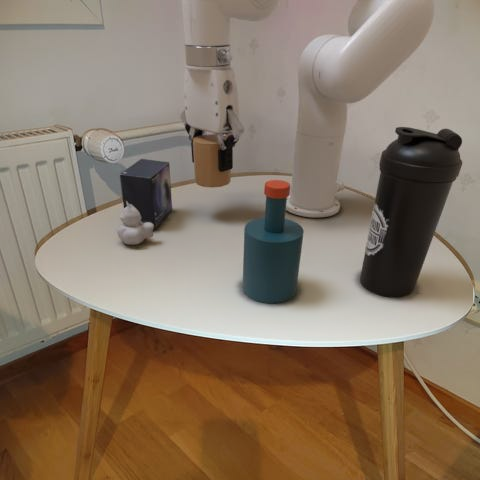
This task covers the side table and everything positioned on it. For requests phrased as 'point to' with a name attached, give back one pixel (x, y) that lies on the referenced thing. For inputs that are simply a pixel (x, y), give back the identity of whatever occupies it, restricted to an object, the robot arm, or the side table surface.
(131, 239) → the rubber duck
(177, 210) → the side table surface
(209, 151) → the light brown faceted cylinder
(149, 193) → the small box
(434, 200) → the water bottle
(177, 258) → the side table surface
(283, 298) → the teal bottle
